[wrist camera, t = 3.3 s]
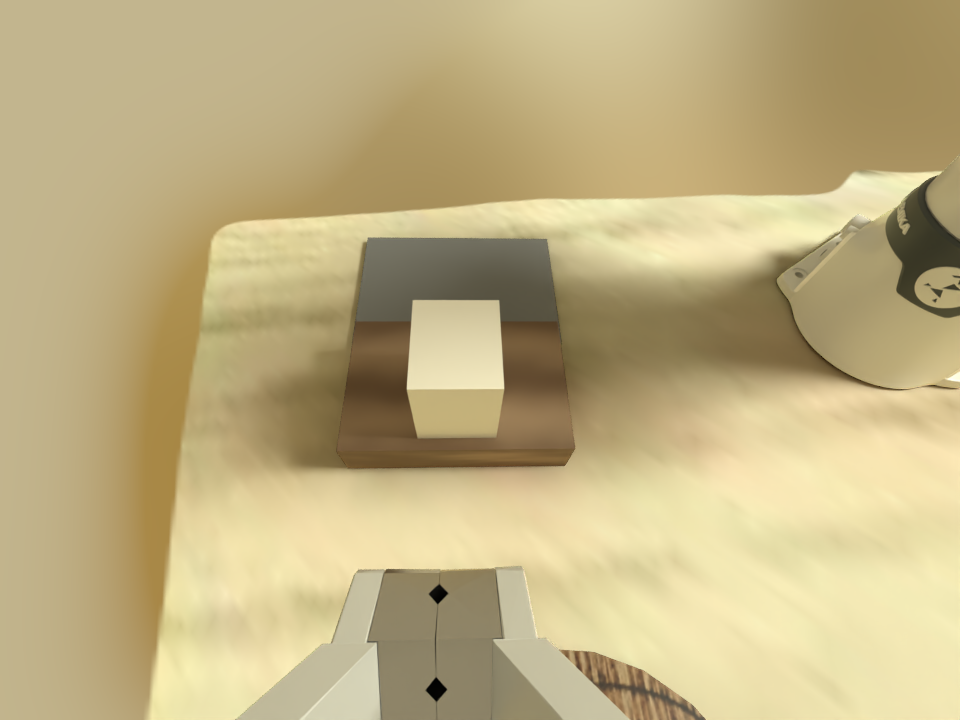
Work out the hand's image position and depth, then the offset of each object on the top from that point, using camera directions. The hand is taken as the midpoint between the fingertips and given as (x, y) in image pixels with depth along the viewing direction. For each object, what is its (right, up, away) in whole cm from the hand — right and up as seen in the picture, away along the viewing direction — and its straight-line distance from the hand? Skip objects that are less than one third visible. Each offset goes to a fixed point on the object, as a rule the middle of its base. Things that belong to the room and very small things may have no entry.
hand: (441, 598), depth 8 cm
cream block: (-1, +1, +28) cm, 28 cm away
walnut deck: (-1, +1, +32) cm, 32 cm away
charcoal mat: (-2, +12, +39) cm, 41 cm away
